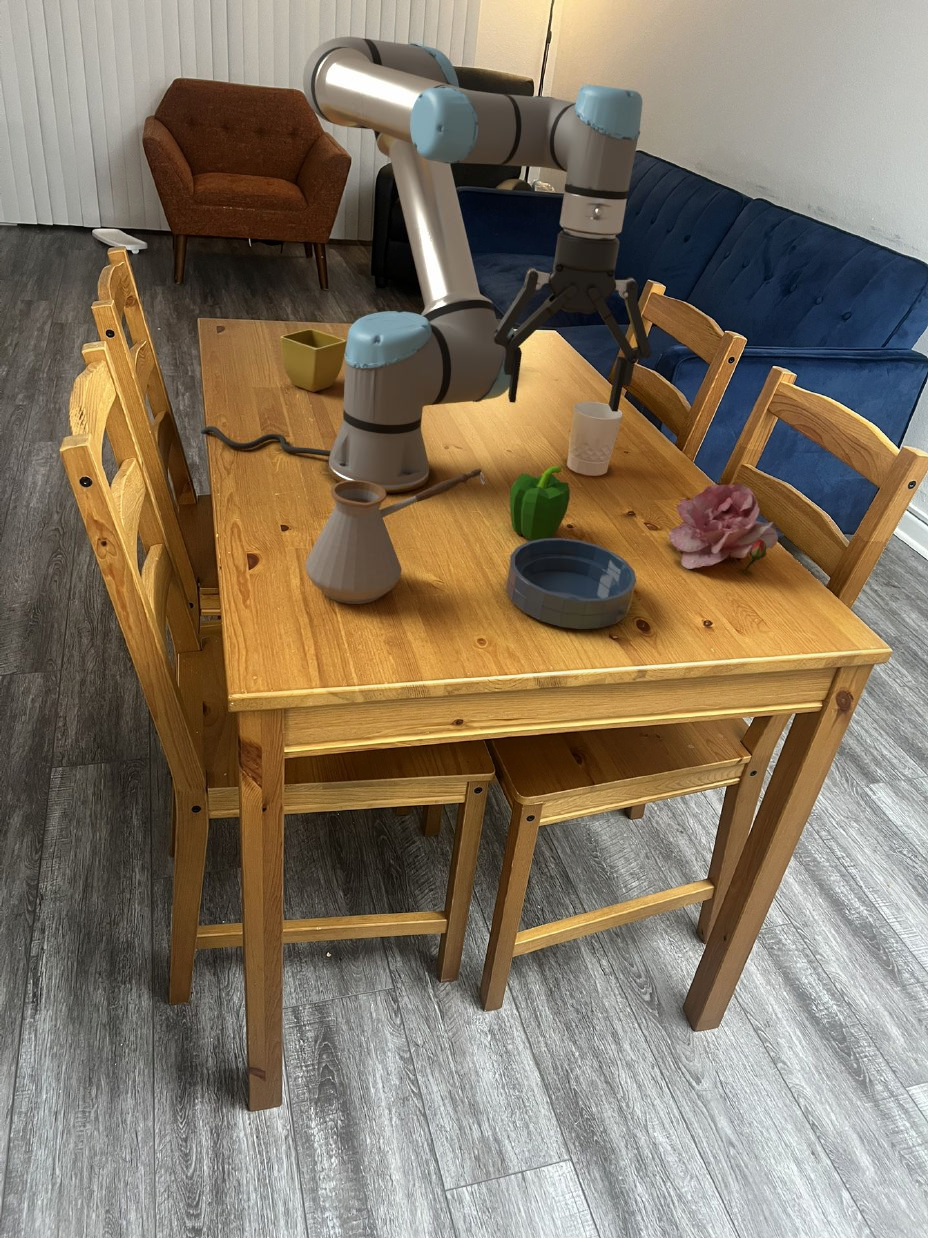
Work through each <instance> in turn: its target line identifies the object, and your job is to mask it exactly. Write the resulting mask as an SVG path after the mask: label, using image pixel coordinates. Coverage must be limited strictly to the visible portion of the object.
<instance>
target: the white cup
mask: <svg viewBox="0 0 928 1238" xmlns="http://www.w3.org/2000/svg"><path fill="white" fill-rule="evenodd" d="M623 413H624V412H622V410H621V409H619V408H618V412H614V411H612V410H611V408H610V406H609V403H608V404H607V403H603V402H598V401H580V402H577V403H575V404H574V405H573V410H572V416H571V417H572V418H571V424H570V431H569V441H568V453H567V454H568V455H567V462H566V466H567V467H568V468H569V470H571V471H573V472H574V473H577V474H580V475H584V476H590V477H591V476H592V477H599V476H603V475H605V474H607V473H608V469H609V465H610V461H611V458H612V457H613V452H614V449H615V445H616V442H617V439H618V438H617V437H618V435H619V431H620V426H621V423H622V419H623V415H624V414H623Z"/></svg>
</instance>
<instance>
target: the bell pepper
mask: <svg viewBox="0 0 928 1238" xmlns="http://www.w3.org/2000/svg"><path fill="white" fill-rule="evenodd" d="M562 469H563V468H562V467H561V466H559V465H554V466H550V467H548V468H547V469H546V470H545V471H543V473H542V474H541V475H539V476H537V477H535V476H532V475H530V474H529V473H528V474H527V473H524V472H523V473H521V474H520V475H519V477H517V479H516V480H515V481H514V482H513V484H512V486H511V487H510V494H509V511H510V512H509V513H510V522H511V527H512V529H513V531H514V533H516V534H517V535H522V536H523V538H525V539H526V540H528V541H534V540H538V539H544V538H553V536H554V535H556V533H557V531H558V530H559V528H560V526H561V525H562V523H563V520H564V518H565V515H566V513H567V510H568V507H569V501H570V497H571V496H570V495H571V490H570V484H569V482H565V481H561V480H559V478H557V476H555V474H560V473H561V472H562Z"/></svg>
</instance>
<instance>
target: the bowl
mask: <svg viewBox="0 0 928 1238" xmlns="http://www.w3.org/2000/svg"><path fill="white" fill-rule="evenodd" d="M507 568H508V569H507V575H506V581H505V593H506V595H507V596H508V598H509V600H510V602H511V603H512V604H513V605H515V606H516V607H517V608H518V609H519V610H520V611H521V612H523V613H524V614H526V615H528V616H530V617H532V618H534V619H536V620H537V621H540V622H544V623H547V624H551V625H554V626H557V627H560V628H566V629H567V628H568V629H577V630H590V629H591V630H592V629H601V628H605V627H609V626H612V625H616V624H617V623H619V622H620V621H622V620H623V619H624V618H626V617H627V615H628V613H629V611H630V608H631V605H632V602H633V597H634V593H635V588H636V585H637V576H636V572H635V570H634V569H633V567H632V566H631V565H630V564H629V562H628V561H627V560H626V559H624V558H623V557H621V556H619V555H618V554H617V553H616V552H613V551H611V550H609V549H607V548H604V547H602V546H600V545H598V544H594V543H591V542H587V541H583V540H579V539H571V538H563V537H551V538H544V539H538V540H534V541H530V540H528V541H526V542H524V543H523V544H522V543H521V545H519V546H516V548H515V549H514V550H513V552H511V554H510V555H509V562H508V567H507Z"/></svg>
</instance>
